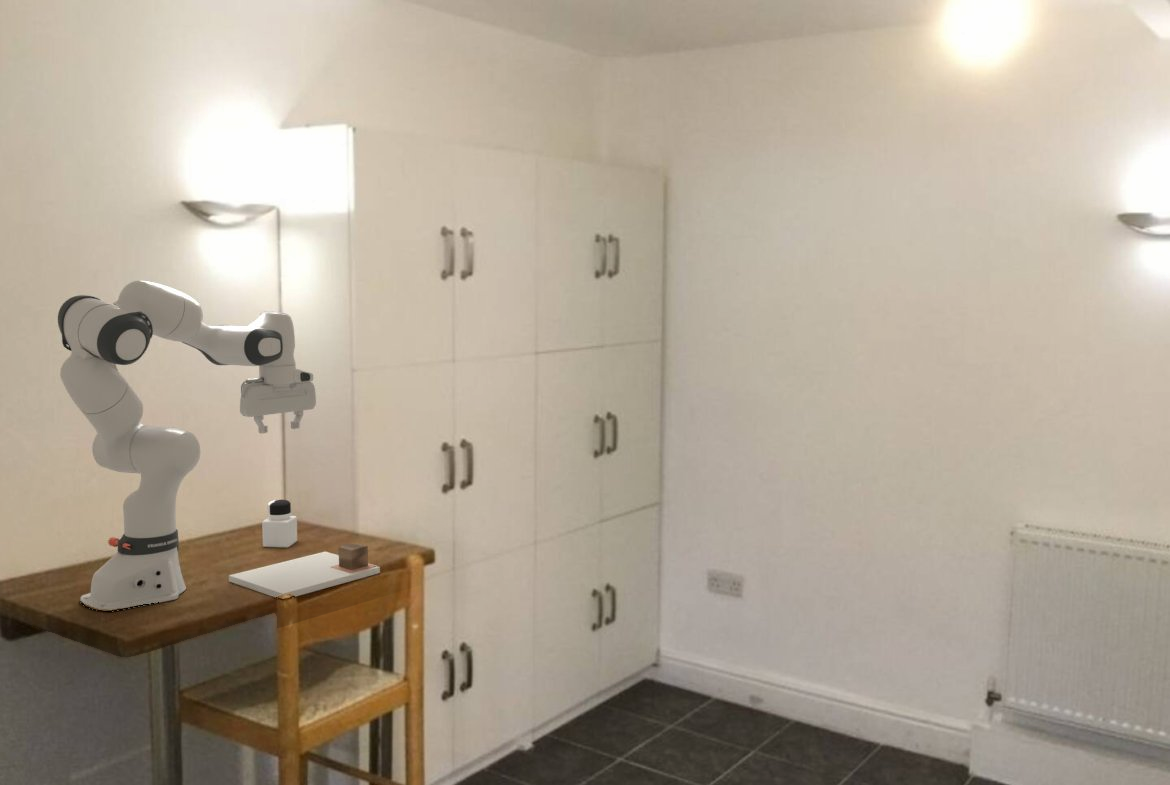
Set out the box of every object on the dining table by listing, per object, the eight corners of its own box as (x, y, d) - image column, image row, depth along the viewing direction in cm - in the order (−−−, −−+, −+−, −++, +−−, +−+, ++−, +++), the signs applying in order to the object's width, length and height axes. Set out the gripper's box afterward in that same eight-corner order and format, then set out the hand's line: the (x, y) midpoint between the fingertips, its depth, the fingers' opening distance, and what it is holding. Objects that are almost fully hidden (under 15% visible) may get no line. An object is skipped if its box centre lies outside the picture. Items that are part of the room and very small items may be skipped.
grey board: (282, 600, 242) (282, 592, 242) (229, 581, 256) (228, 574, 256) (379, 572, 264) (379, 566, 264) (325, 557, 278) (325, 550, 278)
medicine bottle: (297, 541, 294) (296, 498, 292) (288, 547, 287) (286, 504, 285) (272, 540, 294) (271, 497, 293) (262, 547, 287) (260, 503, 286)
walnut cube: (351, 570, 260) (351, 550, 260) (339, 566, 263) (338, 546, 263) (368, 565, 264) (367, 546, 264) (355, 562, 267) (354, 542, 267)
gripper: (248, 380, 257) (250, 437, 259) (318, 373, 273) (320, 427, 274) (233, 378, 261) (235, 434, 263) (303, 372, 277) (305, 424, 278)
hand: (279, 430), depth 269 cm, fingers open, 8 cm apart
